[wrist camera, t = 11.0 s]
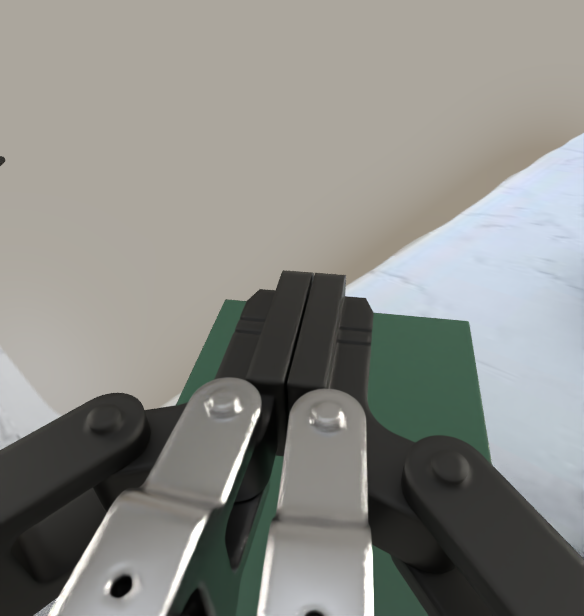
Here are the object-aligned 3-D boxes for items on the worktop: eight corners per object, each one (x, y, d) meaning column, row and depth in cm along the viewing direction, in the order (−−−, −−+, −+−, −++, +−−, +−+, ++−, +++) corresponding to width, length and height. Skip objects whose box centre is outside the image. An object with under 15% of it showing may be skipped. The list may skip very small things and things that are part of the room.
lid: (226, 310, 26) (225, 298, 26) (466, 332, 24) (469, 320, 24) (83, 628, 14) (74, 618, 14) (524, 722, 12) (533, 715, 12)
